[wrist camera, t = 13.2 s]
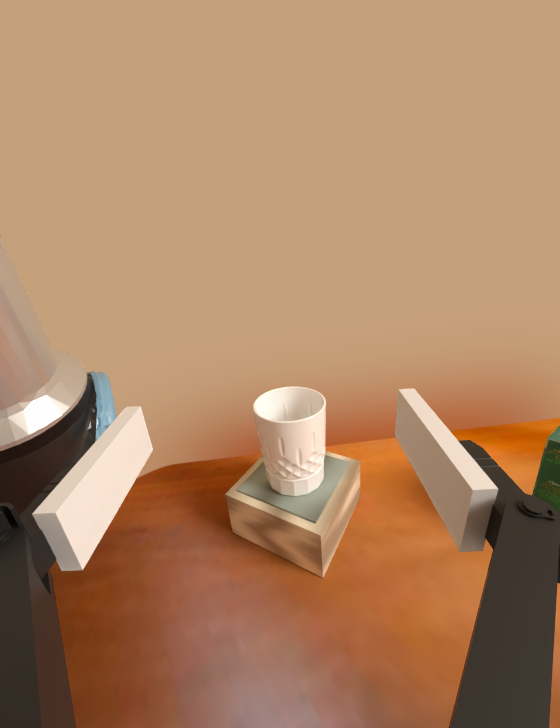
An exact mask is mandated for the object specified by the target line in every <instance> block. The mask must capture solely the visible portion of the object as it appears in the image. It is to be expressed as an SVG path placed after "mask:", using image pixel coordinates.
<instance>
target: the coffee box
mask: <svg viewBox="0 0 560 728" xmlns="http://www.w3.org/2000/svg"><path fill="white" fill-rule="evenodd" d="M532 496H535V497H537V498H540V499H542V500H544V501H546V502H547V503H548V504H550V505H551V506H552V507H554V509H555V510H556V511H557V512H559V513H560V425H559V426H558V427H557V428H556V429H555V430H554V431H553V432H552V433H551V435H550V436H549V437H548V438H547V440H546V444H545V448H544V452H543V456H542V460H541V464H540V468H539V471H538V475H537V479H536V483H535V487H534V490H533V494H532Z"/></svg>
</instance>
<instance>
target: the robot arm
mask: <svg viewBox="0 0 560 728" xmlns="http://www.w3.org/2000/svg"><path fill="white" fill-rule="evenodd" d="M395 436H396V438H397V440H398V442H399V444H400V445H401V447H402V449H403V451H404V453H405V454H406V456H407V458H408V460H409V462H410V463H411V465H412V467H413V469H414V471H415V472H416V474H417V476H418V478H419V480H420V481H421V483H422V485H423V487H424V489H425V490H426V492H427V494H428V496H429V498H430V499H431V501H432V503H433V505H434V507H435V508H436V510H437V512H438V514H439V516H440V517H441V519H442V521H443V523H444V525H445V526H446V528H447V530H448V532H449V534H450V535H451V537H452V539H453V541H454V543H455V544H456V546H457V548H458V550H459V552H468V551H483V547H484V543H485V539H487V541H488V542H489V544H490V545H491V547H492V548H493V553H492V557H491V560H490V564H489V568H488V573H487V577H486V581H485V585H484V589H483V593H482V597H481V601H480V605H479V609H478V613H477V617H476V621H475V625H474V629H473V633H472V637H471V641H470V645H469V649H468V653H467V657H466V661H465V665H464V669H463V673H462V677H461V681H460V685H459V689H458V693H457V697H456V701H455V705H454V709H453V713H452V717H451V721H450V725H449V728H549V718H550V700H551V683H552V666H553V648H554V631H555V613H556V596H557V583H560V513H559V512H557V511H556V510H555V509H554V507H552V506H551V505H550V504H548V503H547V502H546V501H544V500H542V499H540V498H537V497H535V496H532V495H528V494H525V493H524V492H523V491H522V490H521V489H520V488H519V487H518V486H517V485H516V484H515V483H514V481H513V480H512V479H511V478H510V477H509V476H508V475H507V474H506V473H505V472H504V471H503V470H502V469H501V467H498V464H497V463H496V462H495V461H494V460H493V459H491V457H490V456H489V454H488V453H487V452H486V451H485V450H484V449H483V448H482V447H480V446H479V445H477V444H475V443H474V442H472V441H470V440H464V441H458V440H457V439H456V438H455V437H454V435H453V434H452V433H451V432H450V431H449V430H448V428H447V427H446V426H445V425H444V424H443V422H442V421H441V420H440V419H439V418H438V416H437V415H436V414H435V413H434V412H433V411H432V409H431V408H430V407H429V406H428V405H427V403H426V402H425V401H424V400H423V399H422V397H421V396H420V395H419V394H418V393H417V392H416V390H415V389H399V390H398V402H397V414H396V427H395ZM152 451H153V448H152V444H151V441H150V437H149V434H148V430H147V427H146V423H145V420H144V417H143V413H142V410H141V407H140V406H137V407H126V408H125V409H124V410H123V411H122V412H121V413H120V415H119V416H118V417H116V411H115V405H114V400H113V395H112V390H111V385H110V381H109V378H108V376H107V374H105V373H103V372H97V373H96V372H90V373H87V372H86V370H85V368H84V366H83V365H82V363H81V362H80V360H79V359H78V358H76V357H75V356H73V355H72V354H70V353H68V352H65V351H62V350H59V349H55V348H52V345H51V343H50V341H49V339H48V337H47V335H46V333H45V330H44V328H43V326H42V324H41V322H40V320H39V317H38V315H37V313H36V311H35V309H34V307H33V305H32V302H31V300H30V298H29V296H28V294H27V292H26V289H25V287H24V285H23V283H22V281H21V279H20V277H19V274H18V272H17V270H16V268H15V266H14V264H13V262H12V259H11V257H10V255H9V253H8V251H7V249H6V247H5V244H4V242H3V240H2V238H1V236H0V728H76V724H75V718H74V712H73V706H72V699H71V693H70V687H69V681H68V674H67V668H66V662H65V655H64V649H63V643H62V637H61V630H60V624H59V618H58V612H57V605H56V599H55V593H54V587H53V580H52V576H51V574H50V572H49V569H50V568H51V566H52V565H53V563H54V562H55V560H56V561H57V563H58V565H59V567H60V569H61V571H73V570H83V569H84V567H85V565H86V564H87V562H88V560H89V559H90V557H91V555H92V553H93V552H94V550H95V548H96V547H97V545H98V543H99V542H100V540H101V538H102V536H103V535H104V533H105V531H106V530H107V528H108V526H109V524H110V523H111V521H112V519H113V518H114V516H115V514H116V512H117V511H118V509H119V507H120V506H121V504H122V502H123V500H124V499H125V497H126V495H127V494H128V492H129V490H130V488H131V487H132V485H133V483H134V482H135V480H136V478H137V476H138V475H139V473H140V471H141V470H142V468H143V466H144V464H145V463H146V461H147V459H148V458H149V456H150V454H151V452H152Z"/></svg>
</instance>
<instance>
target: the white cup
mask: <svg viewBox="0 0 560 728" xmlns="http://www.w3.org/2000/svg"><path fill="white" fill-rule="evenodd" d="M253 411H254V416H255V421H256V426H257V432H258V438H259V443H260V448H261V451H262V457H263V461H264V465H265V469H266V474H267V480H268V482H269V483H270V485H271V487H272V489H274V490H276V491H277V492H279V493H280V494H282V495H288V496H300V495H306V494H309V493H310V492H312V491H314V490H315V489H317V488H318V487H319V486H320V484H321V482H322V481H323V479H324V457H325V439H326V400H325V398H324V396H323V395H322V394H320V393H319V392H317V391H315V390H313V389H310V388H305V387H283V388H278V389H274V390H271V391H268V392H266V393H264V394H262V395H261V396H259V397H258V398H257V399H256V400H255V402H254V404H253Z"/></svg>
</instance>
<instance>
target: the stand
mask: <svg viewBox="0 0 560 728" xmlns="http://www.w3.org/2000/svg"><path fill="white" fill-rule="evenodd" d="M225 497H226V502H227V507H228V512H229V517H230V522H231V527H232V532H233V533H235V534H237V535H239V536H241V537H243V538H245V539H247V540H249V541H251V542H253V543H255V544H257V545H259V546H261V547H263V548H265V549H267V550H269V551H271V552H273V553H275V554H277V555H279V556H281V557H283V558H284V559H286V560H288V561H290V562H292V563H294V564H296V565H298V566H300V567H302V568H304V569H306V570H308V571H310V572H312V573H314V574H316V575H318V576H320V577H322V578H323V577H324V575H325V573H326V570H327V568H328V566H329V564H330V562H331V560H332V557H333V555H334V553H335V551H336V549H337V546H338V544H339V542H340V540H341V538H342V536H343V533H344V531H345V529H346V527H347V525H348V522H349V520H350V518H351V516H352V514H353V512H354V509H355V507H356V505H357V503H358V501H359V499H360V461H359V460H355V459H352V458H348V457H344V456H341V455H337V454H334V453H330V452H327V451H325V457H324V479H323V481H322V482H321V484H320V486H319V487H318V488H317V489H315V490H314V491H312V492H310V493H309V494H306V495H300V496H288V495H282V494H280V493H279V492H277V491H276V490H274V489H272V487H271V485H270V483H269V482H268V480H267V474H266V469H265V465H264V461H263V457H262V456H261V457H260V458H259V459H258V460H257V461H256V462H255V464H254V465H253V466H252V467H251V468H250V469H249V470H248V471H247V472H246V473H245V474H244V475H243V476H242V477H241V478H240V479H239V480H238V481H237V482H236V483H235V484H234V486H233V487H232V488H231V489H230V490H229V491H228V492H227V493H226V494H225Z"/></svg>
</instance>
